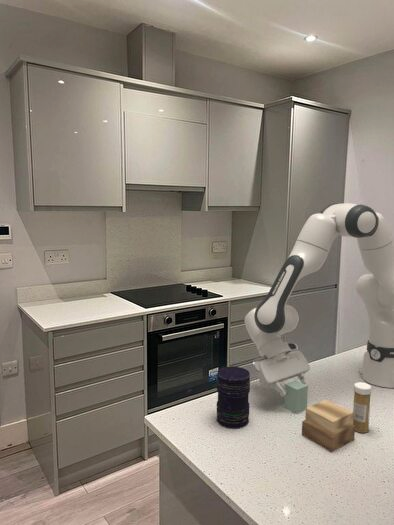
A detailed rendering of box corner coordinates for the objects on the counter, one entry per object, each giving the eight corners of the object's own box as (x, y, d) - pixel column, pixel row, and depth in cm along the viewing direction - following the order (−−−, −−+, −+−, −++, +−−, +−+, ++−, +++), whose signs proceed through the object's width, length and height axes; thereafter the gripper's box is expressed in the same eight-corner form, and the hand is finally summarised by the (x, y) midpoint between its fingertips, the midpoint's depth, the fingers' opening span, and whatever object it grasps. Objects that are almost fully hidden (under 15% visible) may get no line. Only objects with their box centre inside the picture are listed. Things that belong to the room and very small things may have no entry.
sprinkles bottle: (372, 430, 116) (374, 386, 115) (362, 435, 114) (365, 390, 112) (358, 423, 120) (360, 380, 118) (348, 427, 118) (350, 384, 116)
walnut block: (324, 425, 120) (324, 410, 119) (354, 441, 112) (355, 425, 111) (301, 436, 114) (302, 421, 114) (331, 453, 106) (332, 437, 105)
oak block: (325, 412, 119) (326, 399, 118) (352, 425, 111) (353, 412, 111) (305, 421, 113) (305, 407, 113) (332, 436, 106) (332, 422, 106)
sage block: (294, 403, 132) (295, 380, 131) (306, 409, 128) (307, 385, 127) (284, 407, 130) (284, 383, 129) (296, 414, 126) (297, 389, 124)
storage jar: (253, 416, 124) (254, 369, 122) (243, 432, 115) (244, 382, 113) (223, 409, 128) (223, 364, 126) (211, 424, 120) (211, 376, 118)
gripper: (255, 355, 127) (277, 396, 120) (299, 342, 139) (322, 379, 132) (246, 364, 131) (266, 404, 125) (289, 351, 143) (310, 387, 136)
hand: (295, 391), depth 128 cm, fingers open, 8 cm apart
